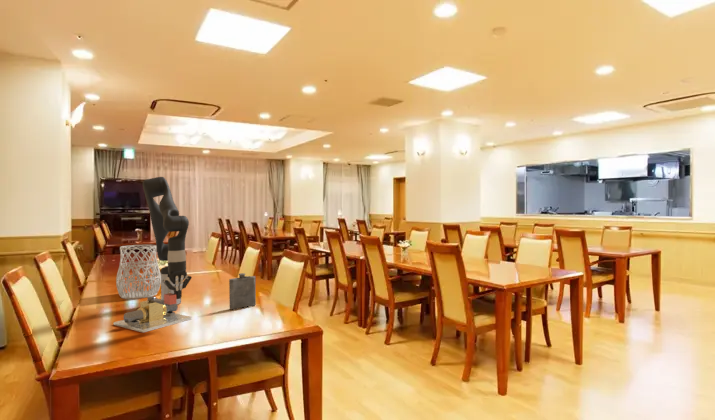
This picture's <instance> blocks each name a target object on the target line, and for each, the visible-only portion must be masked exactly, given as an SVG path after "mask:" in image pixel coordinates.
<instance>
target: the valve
mask: <svg viewBox="0 0 715 420" xmlns="http://www.w3.org/2000/svg"><path fill="white" fill-rule="evenodd" d="M177 311H178V304H175V305H174V306H166V305H163V304H159V303H156V302H152V301H151V302H149V301H147V300H143V301H139V307H138V308H137V309H136V310H133V311H130V312H129V311H128V312H125V313H124V314H123V320H117V321H114V322H113V326H116V327H119V328H120V327H121V328H125V329H128V330H132V331H135V332H140V333H147V332H150V331H153V330H154V331H155V330H157V329H161V328H165V327H169V326H173V325H175V324H179V323H182V322H186V321H189V320H192V316H190V315H184V314H179V313H176V312H177Z"/></svg>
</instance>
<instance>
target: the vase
mask: <svg viewBox="0 0 715 420" xmlns="http://www.w3.org/2000/svg"><path fill="white" fill-rule="evenodd" d="M145 249H146V251H145ZM135 250H139V251H137V252H136V251H135ZM128 251H129V252H128ZM119 253H120V258H119V259H120V260H119V266H118V269H117V273H116V277H115V285H116V289H117V293H118V295H119V297H120V298H121V299H124V300H130V299H131V300H134V299H135V300H136V299H145V298H148V297H152V296H156V295H157V294H158V293H159V291H160V289H161V269H160V267H159V263H158V259H157V258H158V257H157V247H156V244H133V245H132V244H131V245H122V246H121V245H120V246H119ZM140 253H141V254H142V255H143V256H140ZM148 253H149V254H150V256H149V254H148ZM131 254H133V255H134V256H133V257H132V256H131ZM144 259H146V260H144ZM127 260H128V261H129V262H127ZM135 260H137V262H136V261H135ZM150 269H151V271H150ZM141 270H142V273H141V272H140V271H141ZM130 271H132V273H131V274H130ZM147 288H148V289H147Z"/></svg>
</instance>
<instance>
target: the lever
mask: <svg viewBox="0 0 715 420" xmlns="http://www.w3.org/2000/svg"><path fill="white" fill-rule="evenodd" d="M146 298H147V300H146V301H149V302H151V301H152V302H156V303H159V304H163V305H166V306H174V305H175V304H177V303H176V294H172V293H168V294H164V300H161V299H160V298H157V296H156V295H154V296H151V297H146ZM177 305H178V304H177Z"/></svg>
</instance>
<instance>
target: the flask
mask: <svg viewBox="0 0 715 420" xmlns="http://www.w3.org/2000/svg"><path fill="white" fill-rule="evenodd" d="M238 276H239V277H235V278H234V277H233V278H229V280H228V282H229V284H228V285H229V287H228V289H229V290H228V291H229V292H228V293H229V298H228V299H229V310H230V309H235V310H238V309H237V308H240V309H243V308H242V307H245V308H248V307H247V306H252V307H255V305H256V303H257V300H256V275H252V276H250V275H246V273H245V272H244V273H239V274H238ZM256 306H257V305H256Z"/></svg>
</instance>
